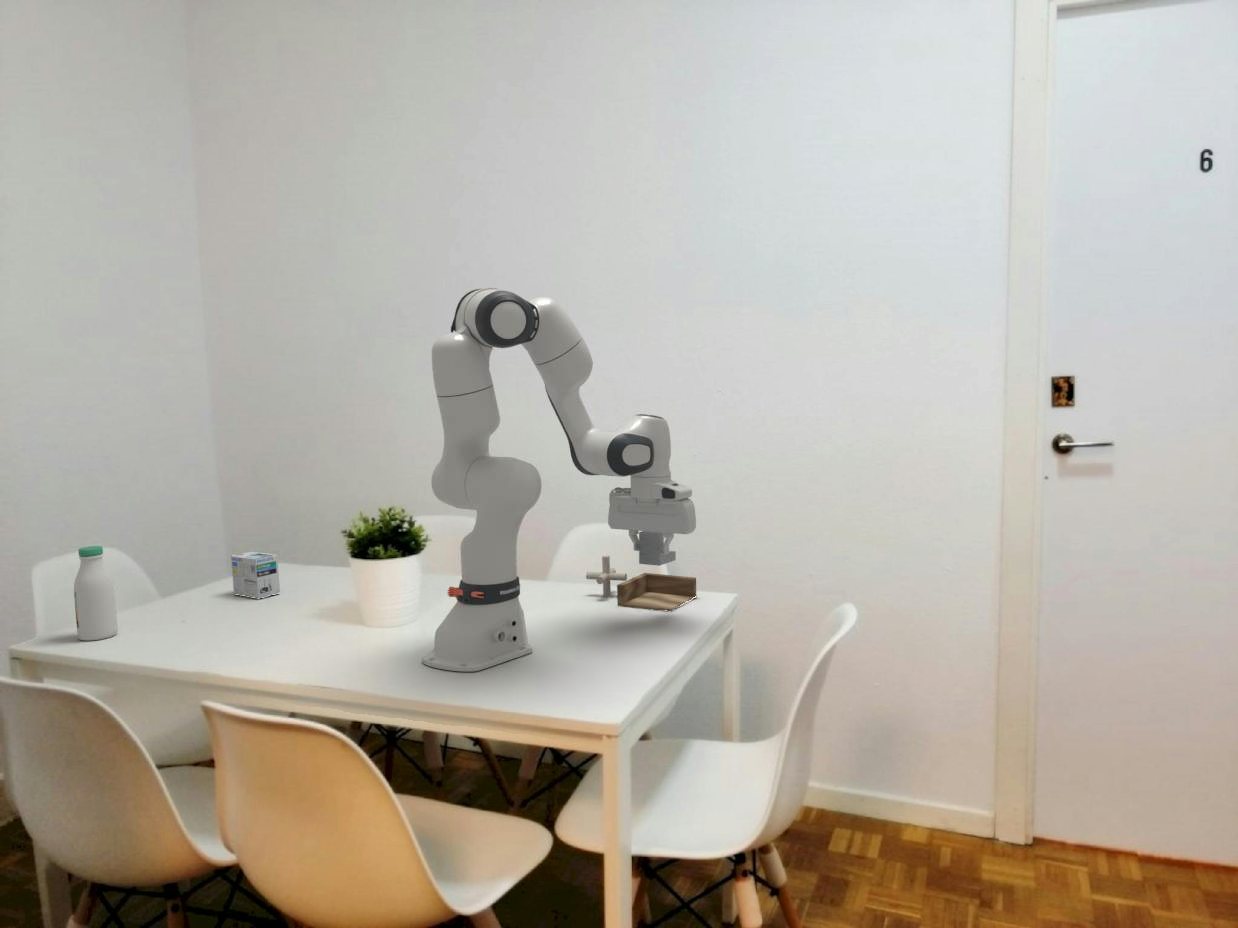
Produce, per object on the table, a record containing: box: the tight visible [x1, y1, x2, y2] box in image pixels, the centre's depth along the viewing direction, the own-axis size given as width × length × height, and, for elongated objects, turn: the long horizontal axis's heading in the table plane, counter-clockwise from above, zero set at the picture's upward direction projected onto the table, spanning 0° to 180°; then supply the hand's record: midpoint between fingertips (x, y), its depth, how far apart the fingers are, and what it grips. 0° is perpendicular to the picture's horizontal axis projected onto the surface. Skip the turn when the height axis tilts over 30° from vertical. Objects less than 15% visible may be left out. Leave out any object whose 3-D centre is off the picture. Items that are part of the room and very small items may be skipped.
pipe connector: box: [585, 555, 628, 598], centre depth 223 cm, size 10×10×10 cm
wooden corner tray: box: [616, 572, 697, 612], centre depth 216 cm, size 14×14×5 cm
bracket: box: [638, 531, 677, 567], centre depth 201 cm, size 8×5×7 cm, turn 151°
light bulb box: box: [230, 551, 281, 598], centre depth 234 cm, size 11×7×11 cm, turn 58°
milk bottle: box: [73, 545, 119, 642], centre depth 199 cm, size 8×8×20 cm
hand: (651, 551), depth 198 cm, fingers closed on bracket, 5 cm apart
